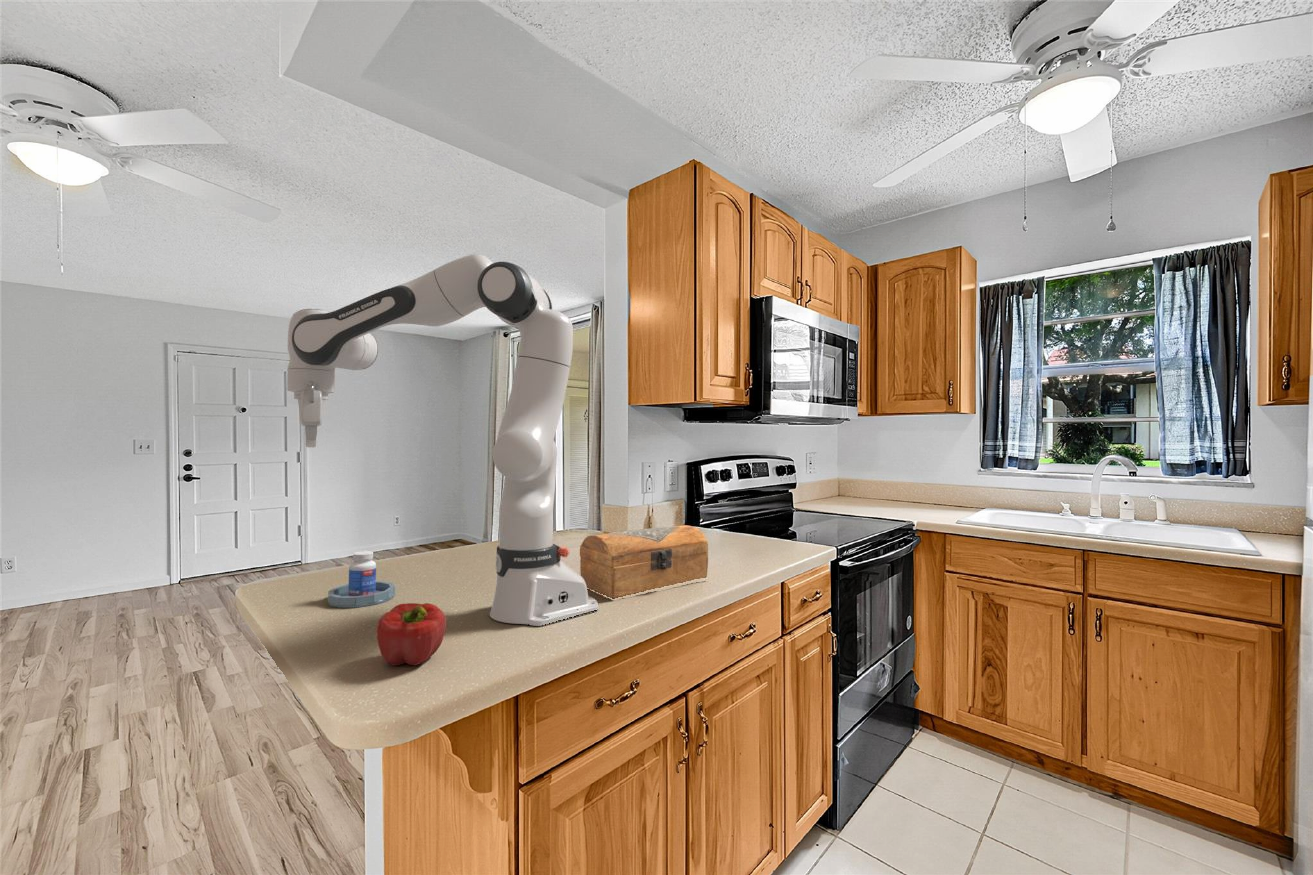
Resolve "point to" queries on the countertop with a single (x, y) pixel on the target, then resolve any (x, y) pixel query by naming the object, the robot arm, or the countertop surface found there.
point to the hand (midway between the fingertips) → (310, 446)
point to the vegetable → (410, 633)
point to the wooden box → (643, 559)
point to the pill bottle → (362, 574)
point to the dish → (342, 600)
